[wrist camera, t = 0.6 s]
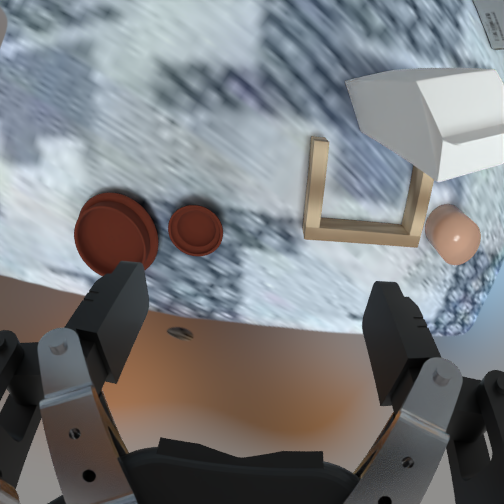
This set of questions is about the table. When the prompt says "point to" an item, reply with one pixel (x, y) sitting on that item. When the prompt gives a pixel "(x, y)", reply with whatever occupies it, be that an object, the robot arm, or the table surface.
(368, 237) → the display frame
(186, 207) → the pottery
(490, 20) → the hard drive box
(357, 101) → the milk
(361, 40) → the table surface
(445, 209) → the peach rounded capsule
